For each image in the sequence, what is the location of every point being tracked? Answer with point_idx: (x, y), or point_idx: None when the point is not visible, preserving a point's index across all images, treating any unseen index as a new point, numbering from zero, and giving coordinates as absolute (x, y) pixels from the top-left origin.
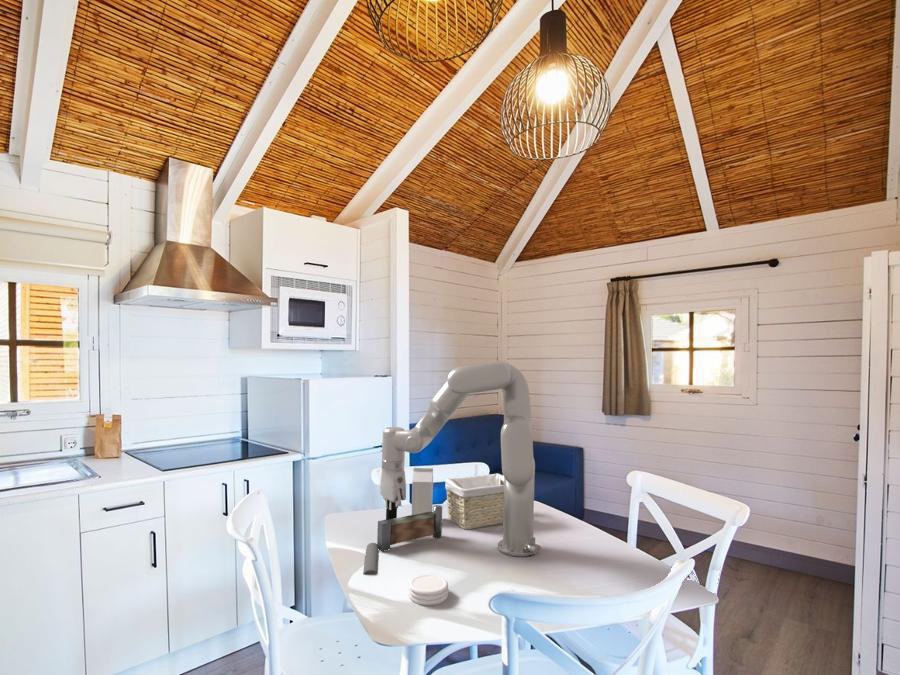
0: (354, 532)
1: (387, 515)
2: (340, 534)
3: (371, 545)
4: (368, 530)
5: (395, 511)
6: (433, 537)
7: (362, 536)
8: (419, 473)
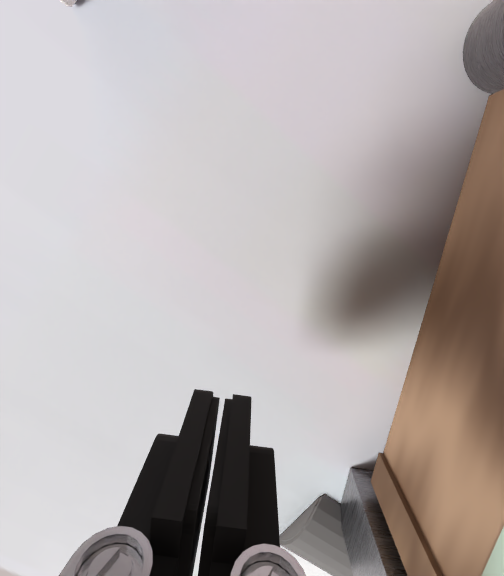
0: (27, 476)
1: (199, 531)
2: (17, 542)
3: (326, 560)
4: (38, 397)
5: (278, 533)
6: (494, 92)
7: (117, 476)
8: None
